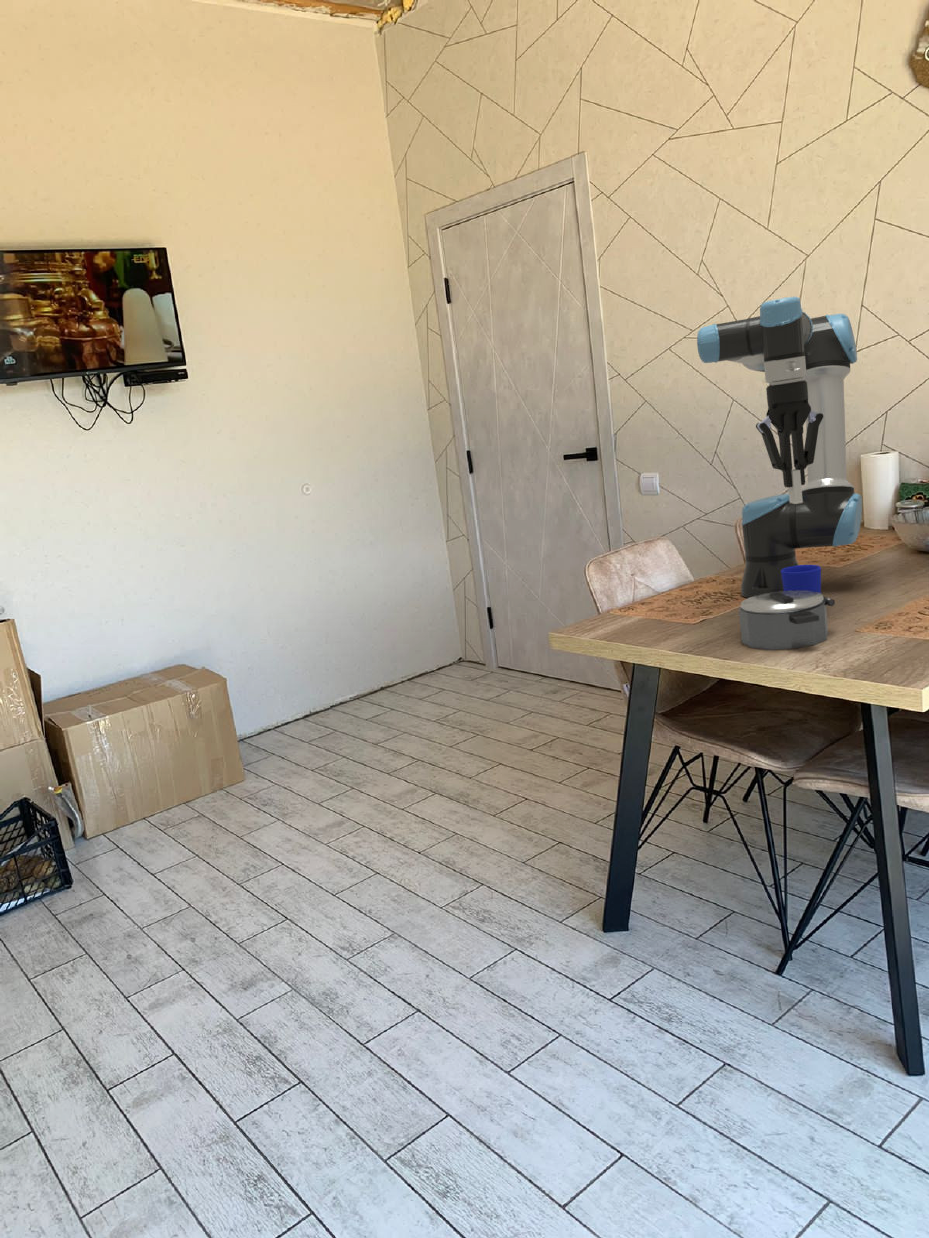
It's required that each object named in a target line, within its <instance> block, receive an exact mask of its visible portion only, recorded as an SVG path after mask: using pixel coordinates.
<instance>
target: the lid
mask: <svg viewBox="0 0 929 1238" xmlns="http://www.w3.org/2000/svg"><path fill="white" fill-rule="evenodd" d="M823 596H824V595H823V594H822V593H821V594H820V593H818V592H813V591H781V592H773V593H766V594H761V595H757V596H753V597H750V598H745V599H743V600H742V601H741V602H740V607H741V609H742V610H743V611H745V612H749V613H756V614H778V613H789V612H795V611H801V610H805V609H809V608H813V607H816V606H818V605H820V604H821V603H823V601H824V599H823Z"/></svg>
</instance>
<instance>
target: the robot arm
mask: <svg viewBox="0 0 929 1238" xmlns="http://www.w3.org/2000/svg"><path fill="white" fill-rule="evenodd" d="M696 338H697V339H696V344H697V345H696V347H697V353H698V356H699V359H700V360H701V362H702V363H704V364H711V363H715V364H716V363H718V362H724V361H728V362H733V363H738V364H742V365H743V366H744V367H745V368H746V369H748V370H750V371H755V372H761V373H764V378H765V379H764V380H765V383H767V384H768V386H766V388H765V390H766V400H767V411H766V414H765V415H766V417H765V418H764V419H763V420H762V421H761V422H757V423H756V424H755V429H757V431H758V433H760V435H761V437H762V440H763V442H764V447H765V448H766V453H767V455H768V457H769V461H770V463H771V466H772V468H773V469H775V470H779V471H781V472H782V479H783V480H782V481H783V485H784V488H788V493H785V494H784V493H783V494H778V495H777V494H776V495H772V496H768V497H764V498H760V499H755V500H754V501H751V502H748V503H746V504H745V505H744V506H743V507H742V509H741V526H742V534H743V546H744V555H745V567H744V570H743V576H742V579H741V584H740V594H741V596H742V597H744V598H745V599H748V598H750V597H753V596H757V595H761V594H766V593H773V592H781V591H784V588H783V582H782V576H781V570H782V569H784V568H787V567H791V566H798V565H799V563H798V561H797V555H796V553H797V552H796V549H807V548H823V547H825V548H826V547H834V548H836V547H838V546H848V545H852V544H854V543H855V542H856V541H857V540H858V539H857V538H858V537H859V534H860V533H859V532H860V529H861V523H862V513H863V512H862V511H863V510H862V509H863V507H862V505H863V503H862V502H863V500H862V495H861V494H860V493H859V494H858V493H857V492H856V493H855V487H854V485H852V483H850V482H849V481H848V479H847V477H848V476H847V475H848V474H847V449H846V448H847V445H846V443H847V442H846V414H845V385H844V384H845V383H844V380H845V378H846V377H847V376H848V375H849V374H850V373H851V365H852V364H854V363H856V362H858V353H857V346H856V341H855V336H854V330H853V327H852V322H851V320H850V318H849V317H848V315H846V314H844V313H837V314H825V315H822V316H816V317H811V318H810V316H809V315H808V314H807V313H806V312H805V311H803V308H802V303H801V299H800V297H798V296H789V297H782V298H778V299H777V298H776V299H773V300H768V301H764V302H763V303H762V304H760V307H759V315H758V316H754V317H750V318H746V319H739V320H734V321H733V320H732V321H727V322H721V323H713V324H712V325H707V326H703V327H700V329H699V330H698V333H697V337H696ZM771 424H772V425H773V427H774V429H776V431H777V436H778V441H779V442H778V444H779V445H778V446H779V448H778V446H777V443H776V440H775V437H774V433H773V432H772V430H771V429H772V425H771ZM804 425H805V430H806V431H805V432H806V433H805V441H804V437H803V435H804ZM791 447H792V449H791ZM778 449H779V450H778ZM792 459H793V460H792ZM793 466H794V469H793ZM806 469H807V472H805V470H806ZM805 473H806V474H807V484H806V474H805ZM802 486H804V487H803V488H802Z"/></svg>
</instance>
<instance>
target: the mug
mask: <svg viewBox="0 0 929 1238" xmlns="http://www.w3.org/2000/svg"><path fill="white" fill-rule="evenodd" d="M781 576H782V582H783V588H784V591H813V592H818V593H820V594H822V592H821V591H822V568H821V566H820V565H817V564H800V565H799V564H798V566H791V567H787V568H784V569H782V570H781Z"/></svg>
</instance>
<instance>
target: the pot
mask: <svg viewBox="0 0 929 1238" xmlns="http://www.w3.org/2000/svg"><path fill="white" fill-rule="evenodd" d="M823 599H824V601H823V603H821V604H820V605H818V606H816V607H813V608H809V609H805V610H801V611H795V612H789V613H778V614H756V613H749V612H745V611H743V610H742V609H741V606H740V607H738V615H739V616H738V617H739V625H740V637H741V644H743V645H745V646H746V647H749V648H752V649H760V650H767V651H771V650H773V651H774V650H794V649H795V650H796V649H801V648H807V647H813V646H815V645H817V644H820V643H823V642H825V641H827V640H828V637H829V630H828V617H827V616H828V615H827V606H830V607H834V605H835V604H836V601H835V600H834V599H833V598H829V597H826V596H824V595H823Z"/></svg>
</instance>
